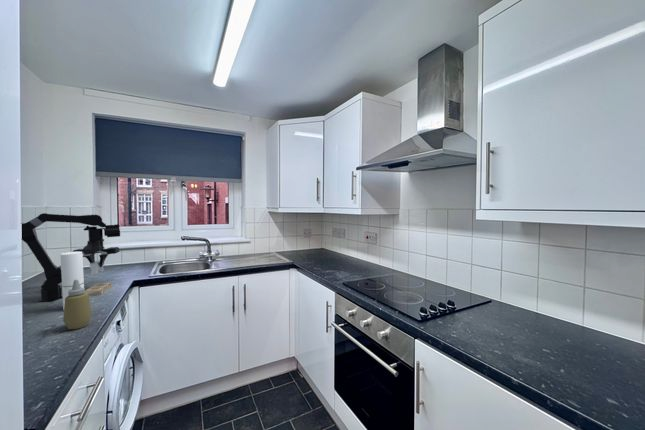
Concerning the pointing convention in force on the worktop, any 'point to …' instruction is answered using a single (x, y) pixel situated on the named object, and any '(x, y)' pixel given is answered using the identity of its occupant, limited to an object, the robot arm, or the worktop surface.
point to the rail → (98, 288)
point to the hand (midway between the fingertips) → (97, 267)
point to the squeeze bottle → (77, 307)
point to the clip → (96, 267)
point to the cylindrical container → (71, 271)
